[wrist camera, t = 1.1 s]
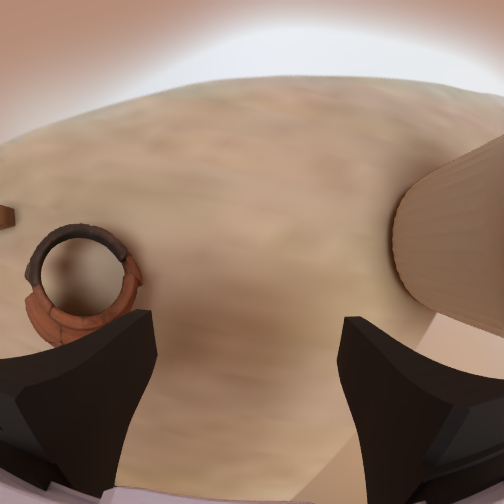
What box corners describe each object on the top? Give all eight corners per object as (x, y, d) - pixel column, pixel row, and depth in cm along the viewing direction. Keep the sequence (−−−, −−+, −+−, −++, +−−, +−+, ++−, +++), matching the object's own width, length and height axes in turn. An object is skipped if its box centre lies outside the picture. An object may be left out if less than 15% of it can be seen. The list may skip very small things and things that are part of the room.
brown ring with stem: (21, 280, 22) (1, 235, 15) (110, 247, 27) (121, 196, 21) (76, 410, 20) (67, 416, 13) (169, 364, 25) (198, 349, 19)
